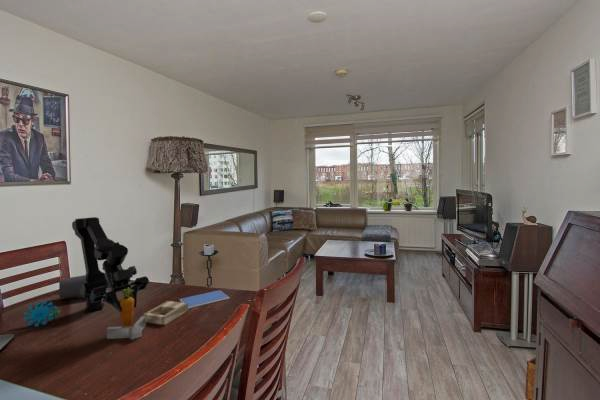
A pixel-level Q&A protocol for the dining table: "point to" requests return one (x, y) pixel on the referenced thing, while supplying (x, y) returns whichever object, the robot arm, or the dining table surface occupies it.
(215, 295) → the tablet computer
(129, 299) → the carrot
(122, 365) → the dining table surface
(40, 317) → the gear
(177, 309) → the socket block
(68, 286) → the bluetooth speaker
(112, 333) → the v-block
